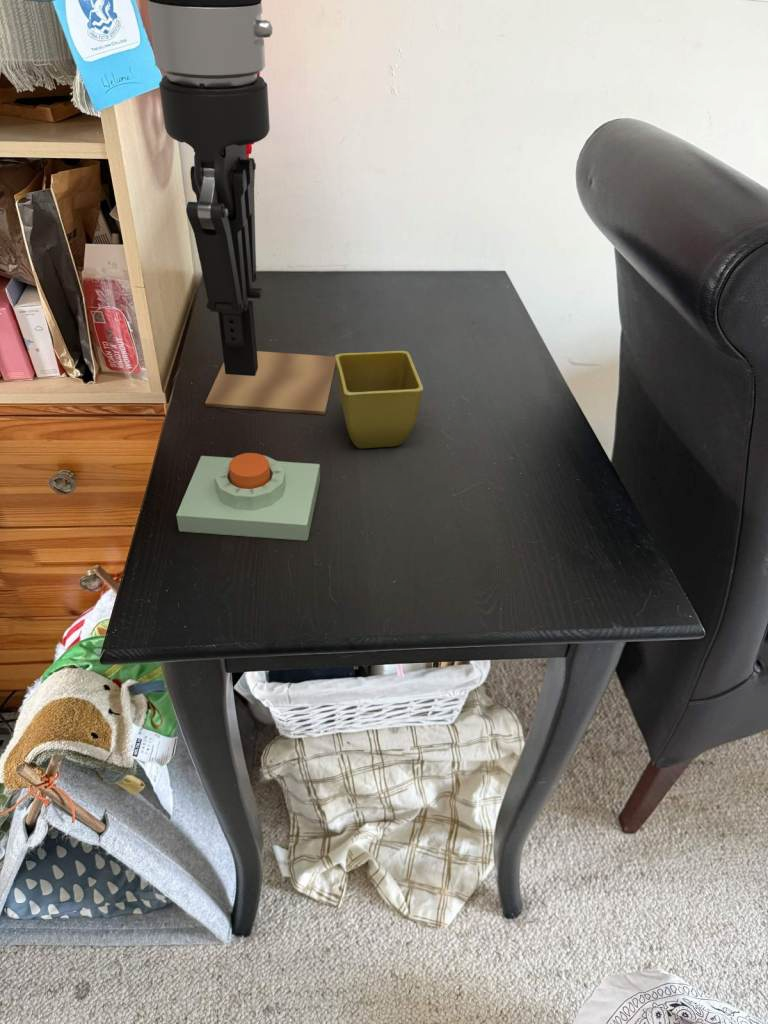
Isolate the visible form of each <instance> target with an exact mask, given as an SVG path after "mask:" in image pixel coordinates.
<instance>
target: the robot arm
mask: <svg viewBox="0 0 768 1024" xmlns="http://www.w3.org/2000/svg"><path fill="white" fill-rule="evenodd" d="M24 1H26V2H36V3H49V2H53V1H55V0H24ZM146 3H147V11H148V19H149V27H150V33H151V42H152V49H153V56H154V64H155V66H156V67H157V68H158V69H159V70H160V71H161V72H163V73H165V75H164V76H163V77H162V78H161V80H160V81H159V83H158V87H159V92H160V100H161V109H162V115H163V122H164V128H165V131H166V133H167V135H168V136H169V137H170V138H172V139H173V140H174V141H176V142H179V143H185V144H186V145H188V146H189V147H191V148H192V149H193V152H194V156H193V165H192V166H191V167H190V171H189V173H190V174H189V175H190V185H191V189H192V191H193V193H194V194H195V197H196V198H195V199H196V201H188V202H187V203H186V208H185V213H186V216H187V220H188V221H189V224H190V227H191V229H192V231H193V232H192V233H193V235H194V239H195V244H196V248H197V254H198V259H199V263H200V264H199V265H200V269H201V274H202V279H203V283H204V289H205V294H206V297H207V303H206V304H205V305H206V309H207V310H209V311H210V313H217V314H218V321H219V330H220V331H219V332H220V340H221V347H222V355H223V356H222V357H223V363H224V366H225V374H231V375H246V376H255V375H256V372H257V369H258V360H257V351H258V350H257V349H258V348H257V338H256V327H255V325H256V324H255V315H254V314H255V313H254V301H253V300H249V299H260V300H261V298H262V293H263V292H262V288H260V287H254V286H253V283H256V281H257V280H258V279H257V278H258V272H257V248H256V247H257V246H256V214H255V213H256V212H255V211H256V210H255V178H256V177H255V175H256V169H257V164H256V161H255V158H254V157H247V147H246V146H247V145H251V144H256V143H258V142H260V141H262V140H263V139H266V137H267V136H268V134H269V132H270V129H271V128H270V126H271V125H270V124H271V123H270V110H269V109H270V108H269V91H268V84H267V82H266V81H265V79H264V78H263V76H260V75H259V73H261V72H262V71H263V70H264V69H265V68H266V52H265V50H266V49H265V39H264V38H266V39H267V38H270V37H271V36H272V35H273V26H272V24H271V22H270V21H269V20H267V19H263V20H262V14H263V5H262V0H146Z"/></svg>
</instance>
